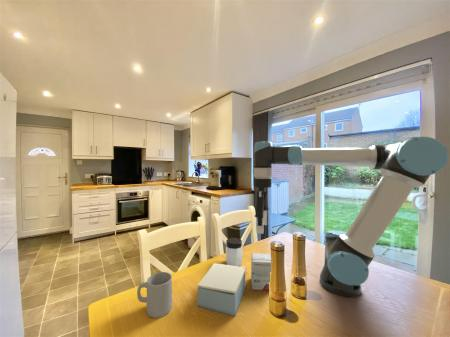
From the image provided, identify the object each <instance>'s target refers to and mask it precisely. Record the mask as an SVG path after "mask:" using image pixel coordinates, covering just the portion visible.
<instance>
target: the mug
mask: <svg viewBox="0 0 450 337" xmlns="http://www.w3.org/2000/svg"><path fill="white" fill-rule="evenodd" d="M142 288H145V289H146V296H144V297H143V295H142V294H141V289H142ZM136 296H137V300H138V301H139V302H141V303H146V314H147V316H148V317H150V318H154V319H158V318H159V319H160V318H162V317H164V316H166V315H168V314H169V313H170V312H171V310H172V308H173V277H172V274H171V273H169V272H167V271H160V272H155V273H153V274H151V275H150V276H149V277H148V278H147V280H146V281H145V282H141V283H139V285H138V287H137V291H136Z"/></svg>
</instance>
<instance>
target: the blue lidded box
mask: <svg viewBox="0 0 450 337" xmlns="http://www.w3.org/2000/svg"><path fill="white" fill-rule="evenodd" d="M245 289H246V272H245V273H244V275H243V277H242V280H241V282H240V285H239V287H238V289H237V292H236V294H235V293H229V292H223V291H218V290H212V289H207V288H201V287H198V286H197V307H198V308H202V309H205V310H210V311H212V312H217V313H222V314H225V315H229V316H232V317H236V315H237V312H238V309H239V307H240V304H241V301H242V298H243V295H244V294H245V293H244V292H245V291H246V290H245Z"/></svg>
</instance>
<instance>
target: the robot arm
mask: <svg viewBox="0 0 450 337" xmlns="http://www.w3.org/2000/svg"><path fill="white" fill-rule="evenodd" d="M253 147H254V148H253V170H252V173H253V177H254V178H253V187H254V188H258V191H256V208H255V210H256V211H255V215H254V218H256V229H255V230H256V234H260V235H263V234H264V232H265V230H264V226H267V225H268V219H267V218H268V211H269V207H268V188H271V187H272V177H273V176H272V175H273V174H272V173H273V170H272V167H273V166H272V165H290V166H291V165H292V166H296V165H297V166H301V165H302V166H304V165H305V166H331V167H334V166H335V167H368V168H369V169H370V170H378V171H380V173H381V177H380V179H379V181H378V182H377V184H376V185H375V187H374V188H373V190H372V191H371V194H370V195H369V196H368V198H366V201H365V203H364V204H363V206H362V207H361V209H360V210H359V212H358V213H357V215H356V217H355V219H354V220H353V221H352V224H350V226H349V228H348V229H347V231H344V230H332V229H331V230H330V229H328V230H326V231H325V233H324V265H323V267H322V269H321V272H320V274H319V282H320V284H321V285H322V287H324V288H325V289H326V290H327V291H329V292H331V293H333V294H336V295H338V296H342V297H348V298H354V297H358V296H360V295H361V293H362V284H364V283H366V281H367V280H368V278H369V275H370V274H369V273H370V270H369V269H370V268H369V266H370V264H371V263H372V261H373V260H374V258H375V257H376V256H375V253H374V250H373V249H374V248H375V247H376V244H377V243H378V242H379V240H380V239H381V238H382V236H383V235H384V233H385V231H386V230H387V228H388V227H389V225H390V224H391V222H393V220H394V218H395V217H396V215H397V213H398V212H399V211H400V209H401V208H402V206H403V205H404V203H405V202H406V200H407V199H408V197H409V196H410V194H411V193H412V192H413V190H414V189H415V188H418V187H423V186H424V185H425V183H426V182H427V181H428V179H429V178H430V177H431V175H434V174H437V173H439V172H440V171H442V170H443V169H444V168H445V167H446V166H447V164H448V162H449V158H450V155H449V154H450V153H449V151H448V149H447V147H446V145H445V144H444V143H443V142H442V141H441V140H438V139H436V138H434V137H430V136H411V137H408V138H406V139H403V140H399V141H396V142H391V143H387V144H381V145H380V144H379V145H378V144H377V145H375V144H374V145H373V144H372V146H370V147H323V148H322V147H319V148H318V147H317V148H316V147H314V148H313V147H312V148H311V147H310V148H307V147H304V148H303V147H302V146H301V145H294V144H292V145H281V146H280V145H277V146H275V145H273V143H272V142H271V141H267V140H266V141H263V140H262V141H256V142H255V143H254V146H253Z"/></svg>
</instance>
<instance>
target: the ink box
mask: <svg viewBox="0 0 450 337" xmlns="http://www.w3.org/2000/svg"><path fill="white" fill-rule="evenodd" d="M250 258H251V264H250V265H251V267H250V268H251V269H250V270H251V275H250V277H251V279H250V280H251V289H252V290H255V291H256V290H257V291H258V290H259V291H270V290H269V282H270V272H271V259H272V257H271V254H270V253H258V252H257V253H255V252H252V253H251V257H250Z"/></svg>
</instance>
